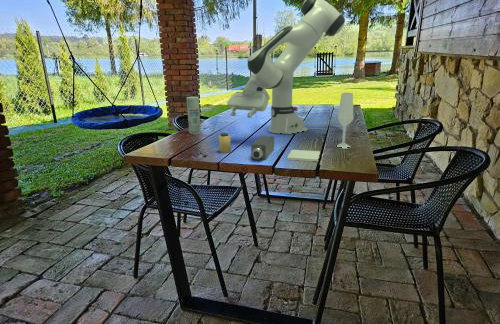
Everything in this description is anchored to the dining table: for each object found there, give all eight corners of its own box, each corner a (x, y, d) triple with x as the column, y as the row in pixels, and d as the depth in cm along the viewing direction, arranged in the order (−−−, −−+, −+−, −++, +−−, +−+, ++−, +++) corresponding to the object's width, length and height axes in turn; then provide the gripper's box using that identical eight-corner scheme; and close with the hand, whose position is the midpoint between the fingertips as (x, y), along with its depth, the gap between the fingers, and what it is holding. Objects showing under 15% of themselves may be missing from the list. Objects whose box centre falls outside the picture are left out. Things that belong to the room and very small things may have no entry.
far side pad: (291, 151, 134) (291, 149, 133) (320, 153, 131) (320, 151, 130) (287, 159, 123) (287, 157, 123) (317, 161, 120) (318, 159, 119)
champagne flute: (350, 148, 137) (355, 94, 130) (335, 147, 139) (338, 93, 132) (350, 145, 143) (355, 92, 136) (335, 144, 145) (339, 92, 138)
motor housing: (262, 147, 142) (262, 134, 140) (275, 147, 141) (275, 135, 139) (249, 161, 122) (249, 146, 120) (263, 162, 120) (263, 147, 119)
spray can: (189, 134, 171) (186, 98, 165) (188, 132, 177) (186, 96, 171) (201, 133, 172) (198, 97, 166) (200, 131, 178) (198, 96, 172)
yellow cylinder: (228, 149, 139) (227, 132, 137) (232, 152, 135) (231, 134, 132) (217, 151, 137) (217, 133, 135) (221, 153, 133) (221, 135, 130)
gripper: (231, 87, 149) (219, 110, 144) (268, 88, 137) (256, 113, 133) (237, 96, 153) (226, 118, 149) (273, 98, 142) (261, 122, 138)
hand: (240, 116), depth 141 cm, fingers open, 8 cm apart
